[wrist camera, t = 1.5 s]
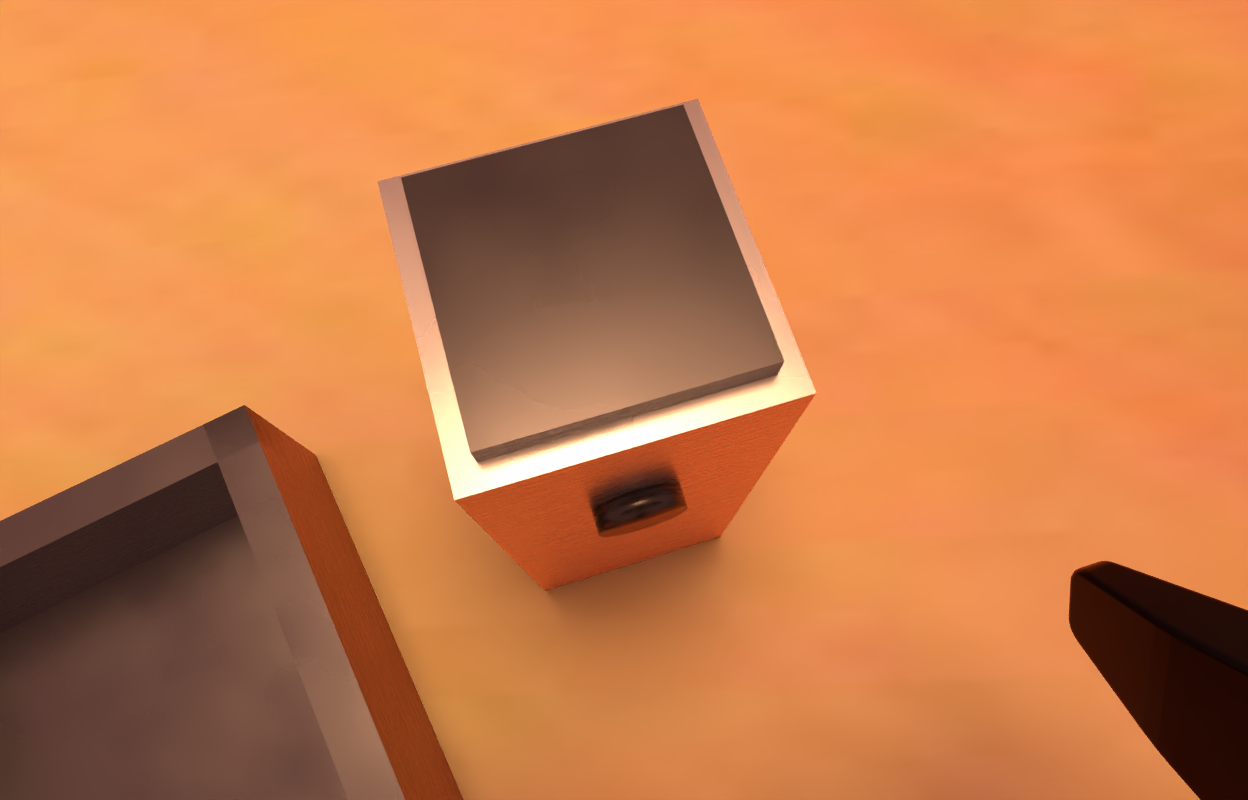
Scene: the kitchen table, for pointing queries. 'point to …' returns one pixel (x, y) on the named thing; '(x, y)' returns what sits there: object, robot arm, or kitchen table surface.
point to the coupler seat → (203, 637)
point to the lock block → (596, 340)
